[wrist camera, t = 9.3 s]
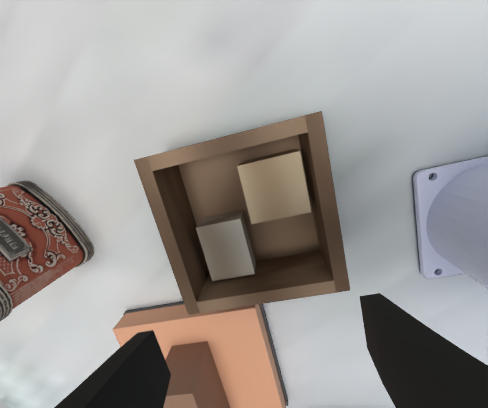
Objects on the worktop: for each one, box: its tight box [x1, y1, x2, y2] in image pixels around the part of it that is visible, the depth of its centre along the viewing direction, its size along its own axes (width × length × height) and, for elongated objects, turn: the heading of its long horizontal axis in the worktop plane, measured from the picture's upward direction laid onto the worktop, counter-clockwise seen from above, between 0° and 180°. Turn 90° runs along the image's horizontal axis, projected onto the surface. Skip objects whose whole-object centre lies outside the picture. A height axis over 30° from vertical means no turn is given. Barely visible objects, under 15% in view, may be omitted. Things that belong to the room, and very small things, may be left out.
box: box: [134, 111, 350, 315], centre depth 16 cm, size 10×10×4 cm
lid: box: [113, 304, 286, 408], centre depth 19 cm, size 12×12×6 cm
